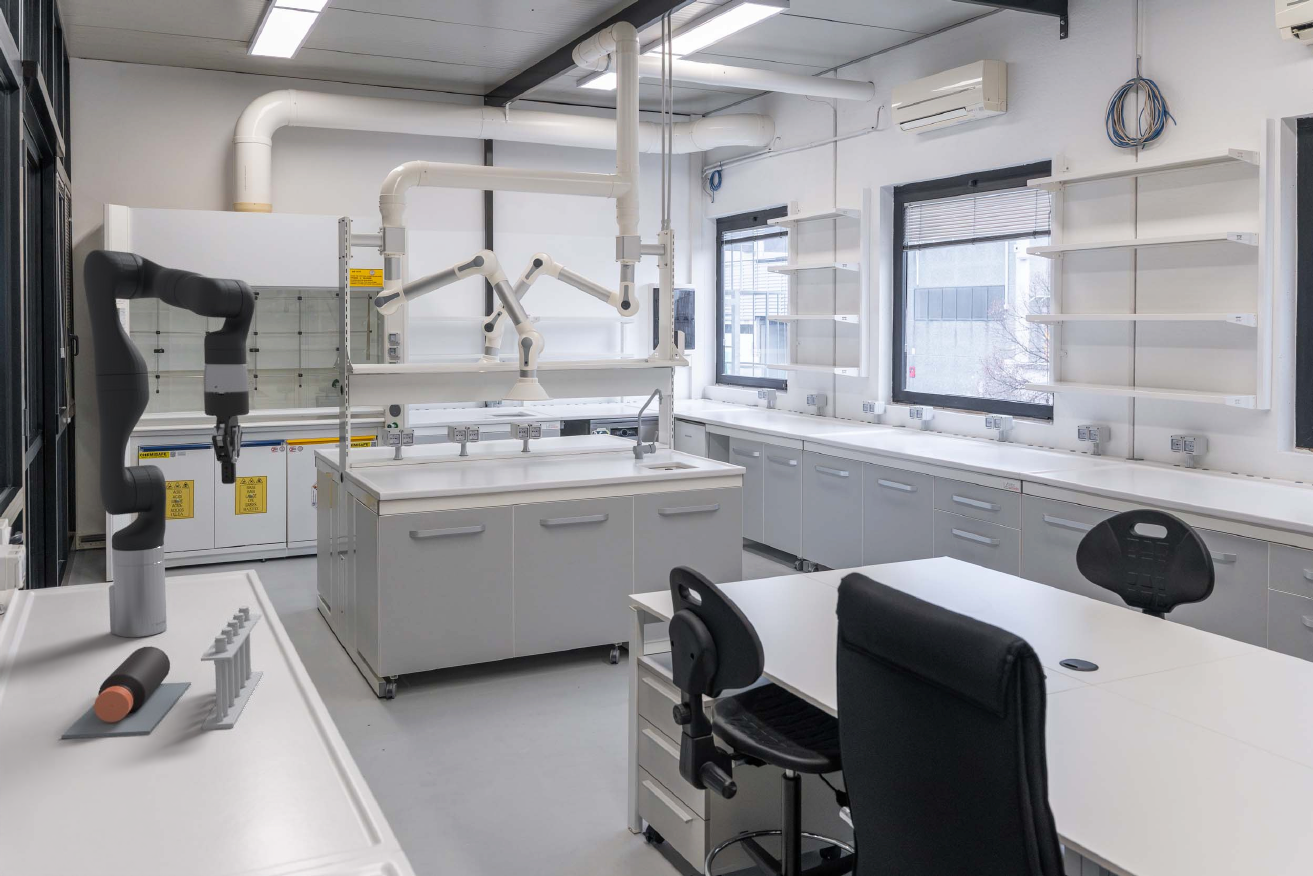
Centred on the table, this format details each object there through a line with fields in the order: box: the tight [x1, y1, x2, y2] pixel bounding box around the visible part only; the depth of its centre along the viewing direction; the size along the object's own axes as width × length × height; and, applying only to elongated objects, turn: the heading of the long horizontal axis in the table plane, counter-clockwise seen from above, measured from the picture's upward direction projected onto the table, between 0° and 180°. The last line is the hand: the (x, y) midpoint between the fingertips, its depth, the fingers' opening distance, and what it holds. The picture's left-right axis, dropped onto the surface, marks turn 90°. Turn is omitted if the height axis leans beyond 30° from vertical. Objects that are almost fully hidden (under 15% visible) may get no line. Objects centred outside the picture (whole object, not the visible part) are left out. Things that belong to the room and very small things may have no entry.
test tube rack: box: [200, 605, 264, 730], centre depth 164 cm, size 25×4×13 cm, turn 11°
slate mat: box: [61, 681, 192, 740], centre depth 160 cm, size 22×12×1 cm, turn 10°
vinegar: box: [93, 646, 171, 722], centre depth 162 cm, size 7×7×20 cm
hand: (228, 483), depth 187 cm, fingers closed
